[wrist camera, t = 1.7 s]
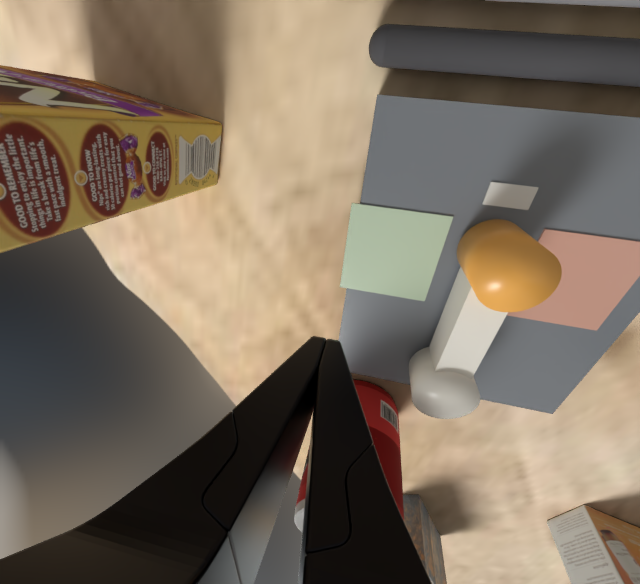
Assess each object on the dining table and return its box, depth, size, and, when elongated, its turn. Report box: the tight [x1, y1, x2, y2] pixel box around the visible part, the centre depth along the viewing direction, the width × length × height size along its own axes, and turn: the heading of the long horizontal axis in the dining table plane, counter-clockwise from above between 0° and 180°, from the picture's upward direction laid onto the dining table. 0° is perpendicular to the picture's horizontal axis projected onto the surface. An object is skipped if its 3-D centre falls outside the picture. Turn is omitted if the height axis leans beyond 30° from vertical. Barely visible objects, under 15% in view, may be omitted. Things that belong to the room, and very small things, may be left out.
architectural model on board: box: [403, 495, 447, 584], centre depth 35 cm, size 11×3×10 cm, turn 26°
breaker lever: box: [409, 219, 562, 419], centre depth 18 cm, size 14×4×4 cm, turn 176°
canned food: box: [294, 380, 404, 532], centre depth 25 cm, size 8×8×11 cm
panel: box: [339, 95, 640, 414], centre depth 19 cm, size 18×20×2 cm
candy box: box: [0, 65, 222, 253], centre depth 12 cm, size 9×4×15 cm, turn 76°
